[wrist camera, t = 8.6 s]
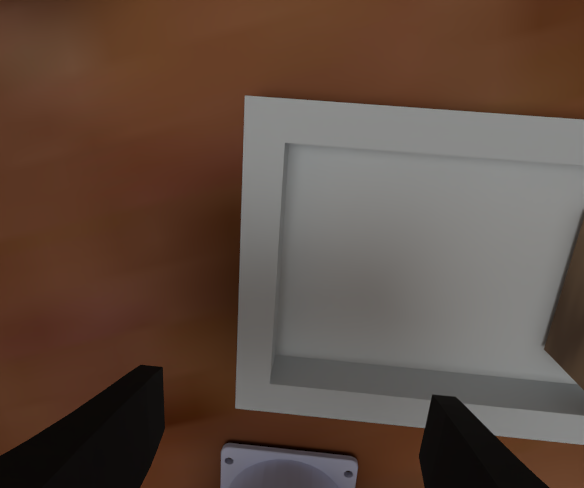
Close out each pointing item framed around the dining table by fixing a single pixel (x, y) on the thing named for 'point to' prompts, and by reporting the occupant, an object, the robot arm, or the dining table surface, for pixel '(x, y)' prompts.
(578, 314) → the cardboard box
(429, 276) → the bay
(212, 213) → the dining table surface
